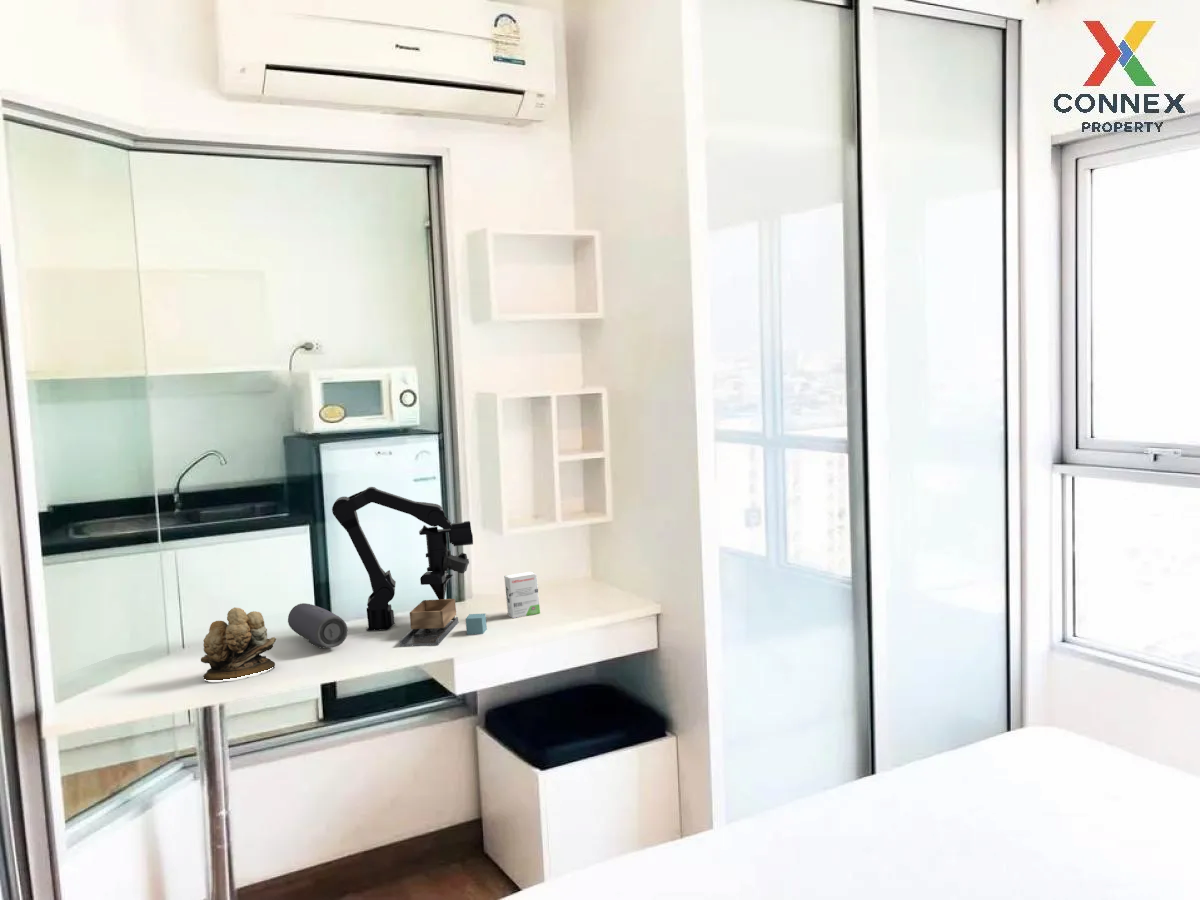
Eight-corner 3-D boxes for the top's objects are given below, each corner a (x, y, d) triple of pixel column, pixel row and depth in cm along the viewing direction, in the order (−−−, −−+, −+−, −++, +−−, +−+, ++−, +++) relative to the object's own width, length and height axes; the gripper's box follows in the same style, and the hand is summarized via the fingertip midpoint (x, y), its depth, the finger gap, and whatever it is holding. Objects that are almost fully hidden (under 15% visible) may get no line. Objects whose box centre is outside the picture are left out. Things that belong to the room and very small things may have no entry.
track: (399, 646, 256) (399, 640, 255) (423, 624, 276) (422, 618, 276) (438, 645, 254) (437, 639, 254) (458, 622, 275) (458, 617, 275)
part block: (466, 634, 262) (465, 618, 262) (470, 630, 267) (469, 614, 266) (483, 634, 262) (481, 618, 261) (486, 629, 266) (485, 613, 266)
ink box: (535, 609, 283) (531, 570, 282) (540, 613, 278) (537, 573, 277) (507, 614, 280) (503, 575, 279) (512, 618, 275) (508, 578, 274)
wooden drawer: (411, 633, 264) (409, 612, 263) (425, 619, 277) (423, 600, 276) (444, 632, 263) (442, 611, 262) (456, 618, 276) (454, 598, 275)
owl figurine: (275, 660, 252) (268, 596, 251) (282, 672, 242) (275, 605, 240) (201, 674, 244) (194, 608, 242) (205, 687, 234) (198, 618, 232)
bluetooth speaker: (352, 647, 258) (348, 611, 257) (318, 656, 253) (314, 619, 252) (320, 632, 276) (316, 598, 275) (288, 640, 271) (284, 605, 270)
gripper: (456, 553, 267) (461, 608, 268) (472, 540, 285) (476, 592, 287) (417, 555, 268) (422, 610, 270) (435, 542, 287) (440, 593, 288)
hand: (442, 601), depth 279 cm, fingers closed
